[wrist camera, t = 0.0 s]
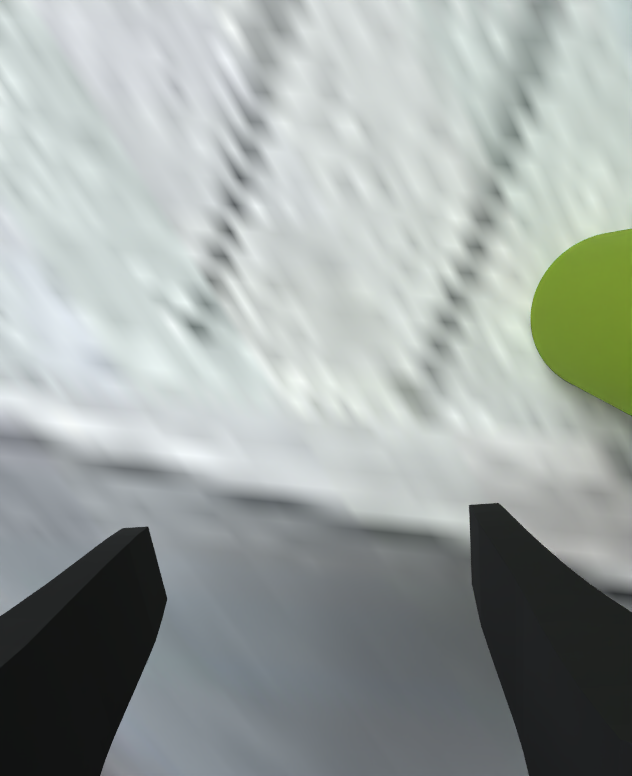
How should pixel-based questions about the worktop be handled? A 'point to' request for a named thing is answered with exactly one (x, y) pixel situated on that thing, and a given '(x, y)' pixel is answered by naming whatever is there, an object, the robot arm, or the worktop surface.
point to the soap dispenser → (589, 317)
